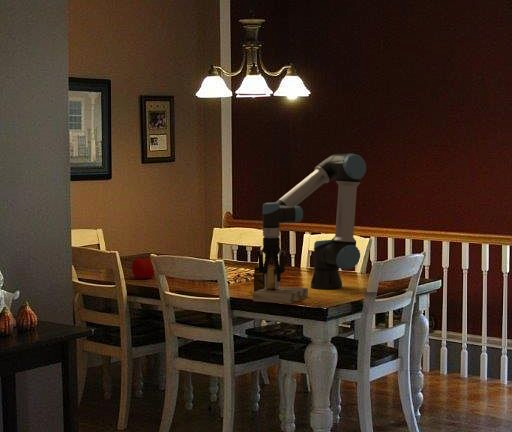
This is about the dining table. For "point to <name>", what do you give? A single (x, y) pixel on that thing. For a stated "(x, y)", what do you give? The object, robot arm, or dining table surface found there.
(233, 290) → the dining table surface
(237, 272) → the dining table surface
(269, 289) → the bushing
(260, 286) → the condiment
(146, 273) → the tomato
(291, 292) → the jig
